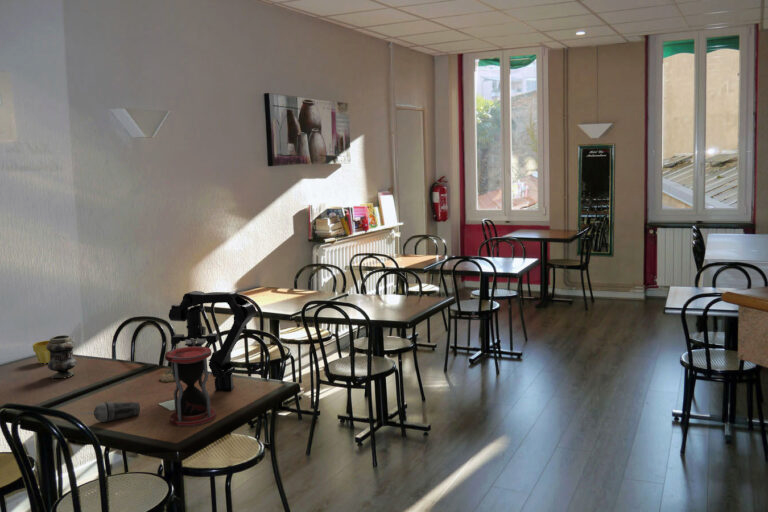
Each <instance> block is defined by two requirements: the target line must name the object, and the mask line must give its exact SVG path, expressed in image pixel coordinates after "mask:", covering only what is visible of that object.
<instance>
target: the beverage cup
mask: <svg viewBox="0 0 768 512" xmlns="http://www.w3.org/2000/svg"><path fill="white" fill-rule="evenodd" d="M140 413H141V406H140V403H139V402H138V401H137V402H135V401H128V402H111V401H110V402H109V401H108V402H107V401H105V402H101V403H100V404H98V405H97V406H95V408H94V411H91V412H81V413H80V415H90V414H91V415H93V416H94V418H95V419H96V420H97V421H98V422H101V423H108V422H111V421H114V420H120V419H125V418H130V417H134V416H138V415H140Z"/></svg>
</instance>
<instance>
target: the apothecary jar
mask: <svg viewBox="0 0 768 512" xmlns="http://www.w3.org/2000/svg"><path fill="white" fill-rule="evenodd" d="M71 337H72V336H70V335H68V334H64V335H63V334H59V335H55V336H50V337H49V340H50V341H49V340H48V341H49V343H48V344H47V346H46V348H47V350H48V351H50V361H49V362H48V364H46V365H47V368H48V369H49V370H50V371H53V372H56V373H54V374H53V375H52V376H51V377H53V378H64V377H68V376H72V375H74V374H75V375H76V372H75V371H71V369H73V368H75V367H76V366H77V362H78V361H77V360H76V358H74V348H75V346H76V343H75V341H74V340H72V338H71ZM75 375H74V376H75ZM72 377H73V376H72ZM53 378H52V379H53ZM64 379H65V378H64Z"/></svg>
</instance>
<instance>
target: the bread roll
mask: <svg viewBox="0 0 768 512" xmlns="http://www.w3.org/2000/svg"><path fill="white" fill-rule="evenodd" d="M159 380H160V381H161V382H163V383H164V381H165V383H166V382H167V383H170V382H175V379H174V378H173V375H172V368H171V369H170V370H165V372H164V373H162V374H160V376H159ZM179 381H181V380H180V379H179Z"/></svg>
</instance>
